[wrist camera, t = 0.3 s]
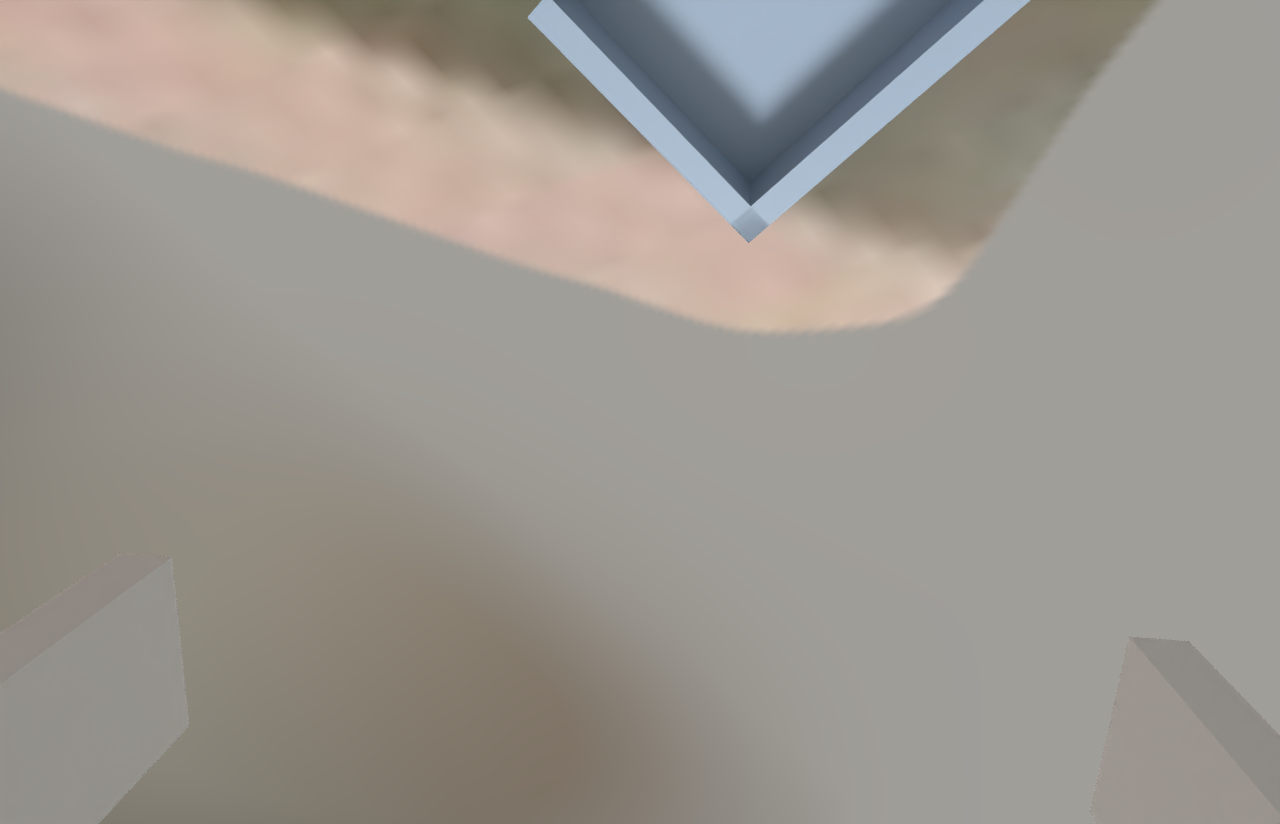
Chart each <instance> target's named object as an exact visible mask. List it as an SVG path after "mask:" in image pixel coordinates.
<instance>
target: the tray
mask: <svg viewBox="0 0 1280 824" xmlns="http://www.w3.org/2000/svg"><path fill="white" fill-rule="evenodd" d="M1029 1H1030V0H542V1H541V2H540V3H539V5H538V6H537V7H536V8H535V9H534V10H533V12H532V13H531V14H530V15H529V16H528V17H527V18H528V19H529V20H530V21H531V22H532V23H533V24H534V25H535V26H536V27H537V28H538V29H539V30H540V31H541V32H542V33H543V34H544V35H545V36H546V37H547V38H548V39H549V40H550V41H551V42H552V43H553V44H554V45H555V46H556V47H557V48H558V49H559V50H560V51H561V52H562V53H563V54H564V55H565V56H566V57H567V58H568V59H569V60H570V61H571V62H572V63H573V64H574V65H575V66H576V67H577V69H578V70H579V71H580V72H581V73H582V74H583V75H584V76H585V77H586V78H587V79H588V80H589V81H590V82H591V83H592V84H593V85H594V86H595V87H596V88H597V89H598V90H599V91H600V92H601V93H602V94H603V95H604V96H605V97H606V98H607V99H608V100H609V101H610V102H611V103H612V104H613V105H614V106H615V107H616V108H617V109H618V110H619V111H620V112H621V113H622V114H623V115H624V116H625V117H626V118H627V120H628V121H629V122H630V123H631V124H632V125H633V126H634V127H635V128H636V129H637V130H638V131H639V132H640V133H641V134H642V135H643V136H644V137H645V138H646V139H647V140H648V141H649V142H650V143H651V144H652V145H653V146H654V147H655V148H656V149H657V150H658V151H659V152H660V153H661V154H662V155H663V156H664V157H665V158H666V159H667V160H668V161H669V162H670V163H671V164H672V165H673V166H674V167H675V168H676V169H677V171H678V172H679V173H680V174H681V175H682V176H683V177H684V178H685V179H686V180H687V181H688V182H689V183H690V184H691V185H692V186H693V187H694V188H695V189H696V190H697V191H698V192H699V193H700V194H701V195H702V196H703V197H704V198H705V199H706V200H707V201H708V202H709V203H710V204H711V205H712V206H713V207H714V208H715V209H716V210H717V211H718V212H719V213H720V214H721V215H722V216H723V217H724V218H725V219H726V220H727V222H728V223H729V224H730V225H731V226H732V227H733V228H734V229H735V230H736V231H737V232H738V233H739V234H740V235H741V236H742V237H743V238H744V239H745V240H746V241H747V242H748V243H749V242H750V241H751V240H753V239H754V238H755V237H756V236H757V235H758V234H759V233H761V232H762V231H763V230H764V229H765V228H766V227H768V226H769V225H770V224H771V223H772V222H773V221H775V220H776V219H777V218H778V217H779V216H780V215H782V214H783V213H784V212H785V211H786V210H787V209H789V208H790V207H791V206H792V205H793V204H794V203H795V202H797V201H798V200H799V199H800V198H801V197H802V196H804V195H805V194H806V193H807V192H808V191H809V190H811V189H812V188H813V187H814V186H815V185H816V184H818V183H819V182H820V181H821V180H822V179H823V178H824V177H826V176H827V175H828V174H829V173H830V172H831V171H833V170H834V169H835V168H836V167H837V166H838V165H840V164H841V163H842V162H843V161H844V160H845V159H847V158H848V157H849V156H850V155H851V154H852V153H854V152H855V151H856V150H857V149H858V148H859V147H860V146H862V145H863V144H864V143H865V142H866V141H867V140H869V139H870V138H871V137H872V136H873V135H874V134H876V133H877V132H878V131H879V130H880V129H881V128H883V127H884V126H885V125H886V124H887V123H888V122H889V121H891V120H892V119H893V118H894V117H895V116H896V115H898V114H899V113H900V112H901V111H902V110H903V109H905V108H906V107H907V106H908V105H909V104H910V103H912V102H913V101H914V100H915V99H916V98H917V97H919V96H920V95H921V94H922V93H923V92H924V91H925V90H927V89H928V88H929V87H930V86H931V85H932V84H934V83H935V82H936V81H937V80H938V79H939V78H941V77H942V76H943V75H944V74H945V73H946V72H948V71H949V70H950V69H951V68H952V67H953V66H954V65H956V64H957V63H958V62H959V61H960V60H961V59H963V58H964V57H965V56H966V55H967V54H968V53H970V52H971V51H972V50H973V49H974V48H975V47H977V46H978V45H979V44H980V43H981V42H982V41H984V40H985V39H986V38H987V37H988V36H989V35H990V34H992V33H993V32H994V31H995V30H996V29H997V28H999V27H1000V26H1001V25H1002V24H1003V23H1004V22H1006V21H1007V20H1008V19H1009V18H1010V17H1011V16H1013V15H1014V14H1015V13H1016V12H1017V11H1018V10H1019V9H1021V8H1022V7H1023V6H1024V5H1025V4H1026V3H1028V2H1029Z"/></svg>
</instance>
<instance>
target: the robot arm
mask: <svg viewBox="0 0 1280 824" xmlns="http://www.w3.org/2000/svg"><path fill="white" fill-rule="evenodd" d="M180 643H181V642H180V633H179V623H178V613H177V604H176V594H175V585H174V574H173V565H172V557H164V556H152V555H140V554H127V553H119V554H118V555H116V556H114V557H113V558H112V559H110V560H108V561H107V562H105V563H104V564H102V565H101V566H99V567H98V568H97V569H95V570H93V571H92V572H90V573H89V574H87V575H86V576H84V577H83V578H81V579H80V580H78V581H77V582H75V583H74V584H72V585H71V586H69V587H68V588H66V589H65V590H63V591H62V592H60V593H59V594H57V595H56V596H54V597H53V598H52V599H50V600H48V601H47V602H46V603H44V604H42V605H41V606H40V607H38V608H37V609H35V610H34V611H32V612H30V613H29V614H27V615H26V616H24V617H23V618H21V619H20V620H18V621H17V622H15V623H14V624H13V625H11V626H10V627H8V628H6V629H5V630H3V631H2V632H0V824H98V823H100V821H101V820H102V819H103V818H104V817H105V816H106V815H107V814H108V813H109V812H110V811H111V809H112V808H113V807H114V806H115V805H116V804H117V803H118V802H119V801H120V800H121V799H122V798H123V797H124V795H125V794H126V793H127V792H128V791H129V790H130V789H131V788H132V787H133V786H134V784H135V783H137V781H138V780H139V779H140V778H141V777H142V776H143V775H144V774H145V773H146V771H148V769H149V768H150V767H151V766H152V765H153V764H154V763H155V762H156V761H157V760H158V759H159V758H160V757H161V755H162V754H163V753H164V752H165V751H166V750H167V749H168V748H169V747H170V746H171V745H172V743H174V741H175V740H176V739H177V738H178V737H179V736H180V735H181V734H182V733H183V732H184V731H185V729H186V728H187V727H188V726H189V720H188V711H187V700H186V690H185V681H184V671H183V663H182V652H181V644H180ZM1090 812H1091V814H1092V816H1093V817H1094V819H1095V821H1096V823H1097V824H1280V735H1279V734H1278V733H1277V732H1276V731H1275V730H1274V729H1273V728H1272V727H1271V726H1270V725H1269V724H1268V723H1267V722H1266V721H1265V720H1264V719H1263V718H1262V717H1261V716H1260V714H1259V713H1258V712H1256V710H1255V709H1254V708H1253V707H1252V706H1251V705H1250V704H1249V703H1248V702H1247V701H1246V700H1245V699H1244V698H1243V697H1242V696H1241V695H1240V694H1239V693H1238V692H1237V691H1236V690H1235V689H1234V688H1233V686H1232V685H1231V684H1230V683H1228V681H1227V680H1226V679H1225V678H1224V677H1223V676H1222V675H1221V674H1220V673H1219V672H1218V671H1217V670H1216V669H1215V668H1214V667H1213V666H1212V665H1211V664H1210V663H1209V662H1208V661H1207V660H1206V658H1205V657H1204V656H1203V655H1201V653H1200V652H1199V651H1198V650H1197V649H1196V648H1195V647H1194V646H1193V645H1192V644H1191V643H1190V642H1188V641H1176V640H1165V639H1153V638H1152V639H1151V638H1139V637H1129V639H1128V643H1127V648H1126V653H1125V657H1124V661H1123V666H1122V671H1121V675H1120V680H1119V684H1118V688H1117V693H1116V698H1115V702H1114V707H1113V711H1112V716H1111V721H1110V725H1109V729H1108V734H1107V739H1106V743H1105V747H1104V752H1103V757H1102V761H1101V766H1100V770H1099V774H1098V779H1097V783H1096V788H1095V793H1094V797H1093V801H1092V806H1091V811H1090Z"/></svg>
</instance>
